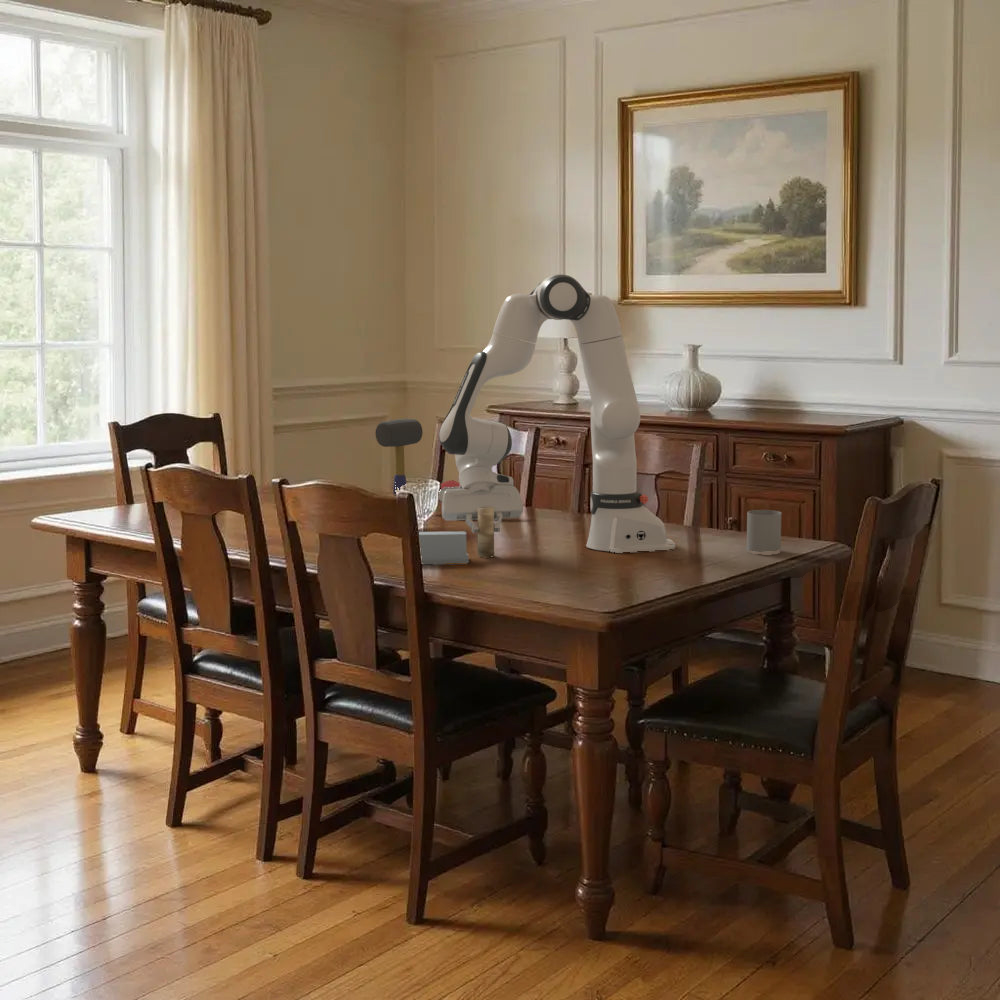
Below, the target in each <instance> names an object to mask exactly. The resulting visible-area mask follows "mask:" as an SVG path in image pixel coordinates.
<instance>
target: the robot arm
mask: <svg viewBox="0 0 1000 1000" xmlns="http://www.w3.org/2000/svg"><path fill="white" fill-rule="evenodd" d="M547 320H555V321H561V320H562V321H563V320H566V321H567V320H568V321H571V323H572V325H573V326H574V328H575V331H576V335H577V340H578V341H577V342H578V346H579V352H580V357H581V363H582V366H583V367H582V368H583V373H584V377H585V380H586V384H587V388H588V392H589V396H590V400H591V407H590V433H591V434H590V435H591V437H590V438H591V454H592V491H591V492H590V500H589V501H590V512H591V518H590V519H591V520H590V528H589V532H588V533H589V534H588V537H587V542H586V545H585V546H586V548H588V549H592V550H595V551H602V552H603V551H604V552H609V551H610V552H611V553H614V552H615V554H624V553H623V552H630V553H638V552H637V551H649V552H656V551H655V550H667V551H669V550H668V549H673V548H675V549H676V543H675V542H674V541H673V540H672V539H670V538H668V537H667V530H666V526H665V524H664V522H663V521H662V519H660V518H659V517H658V516H656V514H654V513H653V512H652V511H650V510H649V509H648V508H647V507H646V506H644V505H645V504H647V503H648V502H649V497H648V496H647V495H646V494H642V493H640V492H639V491H637V473H638V472H637V465H638V464H637V462H638V461H637V460H638V459H637V454H636V440H635V432H636V431H637V430H638V428H639V426H640V423H641V412H640V407H639V403H638V399H637V394H636V390H635V386H634V383H633V380H632V379H633V378H632V375H631V371H630V368H629V363H628V359H627V354H626V353H627V352H626V348H625V342H624V335H623V332H622V327H621V323H620V320H619V316H618V313H617V310H616V309H615V305H614V303H613V301H612V300H611V299H610V298H609V297H608V296H606V295H602V294H592V295H590V294H589V293H588V291H586V290H585V288H584V287H583V286H582V285H581V284H580V282H578V280H577V279H575V278H574V277H572V276H570V275H567V274H561V273H556V274H552V275H550V276H547V277H546V278H545V279H543V280H541V282H539V284H538V285H537V286H536V287H535V288H534V289H533V290H532V291H531V292H530V294H525V293H513V294H511V295H509V296H507V297H506V298H505V299H504V301H503V302H502V305H501V307H500V310H499V312H498V315H497V318H496V321H495V324H494V327H493V330H492V335H491V338H490V340H489V342H488V343H487V345H486V346H485V348H484V349H483V350H482V351H480V352H477V353H476V354H475V355H474V356H473V357H472V359H471V361H470V363H469V365H468V366H467V369H466V371H465V373H464V376H463V378H462V381H461V383H460V385H459V388H458V390H457V392H456V395H455V397H454V400H453V402H452V404H451V407H450V408H449V410H448V412H447V414H446V416H445V417H444V419H443V421H442V422H441V425H440V428H439V432H438V440H439V443H440V445H441V446H442V448H443V449H444V451H445V452H446V453H447V454H448V455H454V459H455V464H456V469H457V471H458V473H459V474H458V483H460V487H444V488H443V489H441V490H440V491H439V492H438V499H439V501H440V502H441V517H442V519H443V520H445V521H446V522H448V521H449V522H451V521H465V524H466V525H467V526H468V527H469V528H470V529H471V533H472V534H478V531H479V527H478V523H475V522H474V521H475V520H477V521H478V508H479V507H493V508H494V520H495V521H496V522H494V533H498V532H500V531H501V523H502V520H503V519H519V518H520V517H521V516H522V514H523V511H524V503H523V500H522V497H521V495H520V491H519V490H518V489H517V487H515V485H514V478H513V477H512V476H509V475H506V474H500V473H496V472H494V471H493V467H494V466H495V467H496V466H497V465H498V464H499V463H501V462H502V461H503V460H505V458H506V457H508V455H509V454H510V452H511V451H512V447H513V440H512V434H511V431H510V428H509V427H508V425H506V424H505V423H501V422H498V421H494V420H490V419H482V418H478V417H472V416H471V413H472V410H473V408H474V406H475V403H476V401H477V398H478V397H479V394H480V392H481V390H482V388H483V386H484V385H485V384H486V383H487V382H488V381H490V380H493V379H495V378H499V377H505V376H510V375H513V374H517V373H518V372H521V371H523V370H524V369H525V368H526V367H528V365H530V363H531V361H532V358H533V355H534V352H535V350H536V344H537V341H538V340H537V339H538V335H539V332H540V329H541V327H542V326H543V324H544V323H545V322H546V321H547ZM673 550H674V549H673Z"/></svg>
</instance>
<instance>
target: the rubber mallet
mask: <svg viewBox="0 0 1000 1000" xmlns="http://www.w3.org/2000/svg"><path fill="white" fill-rule="evenodd" d="M374 433H375V438H376V441H377V443H378V444H379V445H380V446H382V447H385V448H387V447H389V448H391V447H392V448H393V447H394V452H395V453H394V461H395V462H394V463H395V466H394V467H395V468H394V470H395V471H394V478H393V487H392V488H393V491H392V492H393V495H394V494H396V492H395V490H397V487H398V488H399V490H400V487H401V486H402V485H405V484H407V477H406V474H405V473H406V471H405V469H406V468H405V446H408V445H414V444H417V443H419V442H420V441H421V440H422V438H423V427H422V424H421V423H420V421H418V420H417V419H415V418H399V419H397V418H396V419H392V420H386V421H381V422H379V423H378V425H377V426H376V429H375V432H374ZM395 482H396V483H395ZM395 485H396V486H395ZM395 487H396V489H395Z"/></svg>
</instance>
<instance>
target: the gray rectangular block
mask: <svg viewBox="0 0 1000 1000" xmlns="http://www.w3.org/2000/svg"><path fill="white" fill-rule="evenodd" d="M418 532H419V539H420V548H421V556H422V563H423V565H424V564H425V565H426V564H433V565H445V564H444V563H470V557H469V553H467V531H465V530H462V531H459V530H455V531H454V530H453V531H418ZM425 565H424V566H425Z"/></svg>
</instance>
